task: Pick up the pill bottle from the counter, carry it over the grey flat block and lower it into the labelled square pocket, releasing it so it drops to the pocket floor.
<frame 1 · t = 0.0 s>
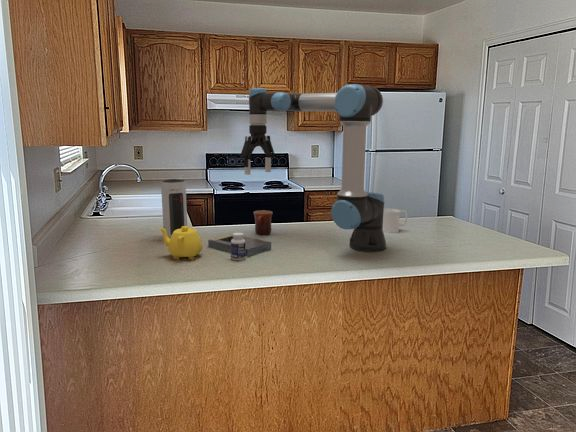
hand: (258, 173, 216), 28 cm above the countertop, fingers open, 13 cm apart
grey flat block: (239, 248, 198), on the countertop
speaker: (175, 239, 213), on the countertop
pill bottle: (238, 259, 184), on the countertop
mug: (262, 235, 221), on the countertop
cup: (393, 231, 232), on the countertop
teapot: (180, 256, 186), on the countertop
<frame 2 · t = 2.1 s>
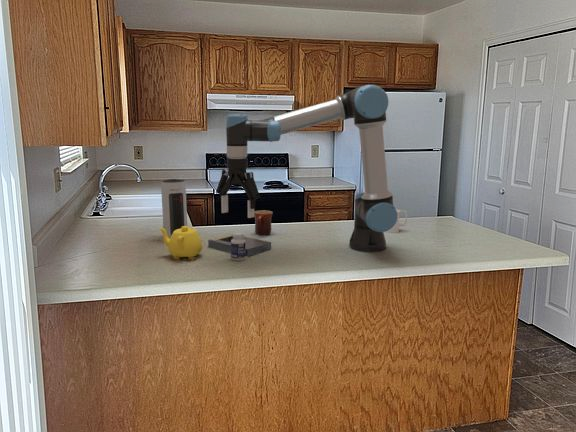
hand: (237, 214, 181), 17 cm above the countertop, fingers open, 13 cm apart
nothing on the countertop moved.
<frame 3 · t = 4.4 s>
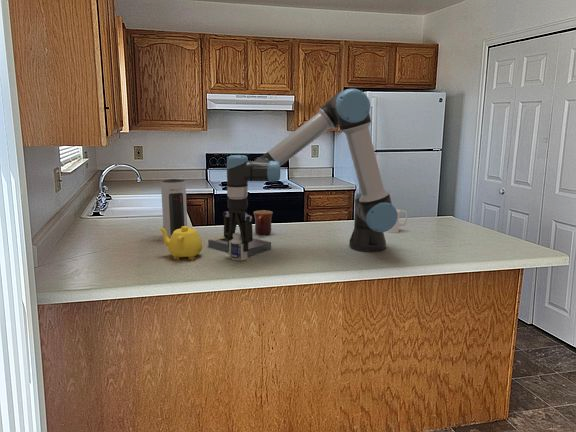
hand: (238, 257, 184), 0 cm above the countertop, fingers closed on pill bottle, 5 cm apart
pill bottle: (238, 259, 184), on the countertop, touching gripper
everything else where it was.
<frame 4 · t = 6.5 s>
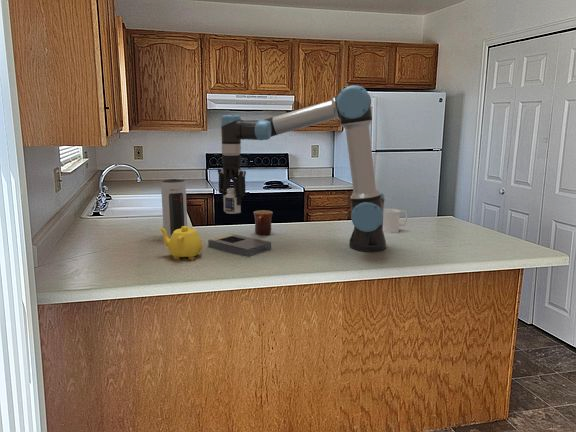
hand: (232, 211, 197), 15 cm above the countertop, fingers closed on pill bottle, 5 cm apart
pill bottle: (232, 213, 198), point 14 cm above the countertop, touching gripper
everything else where it was.
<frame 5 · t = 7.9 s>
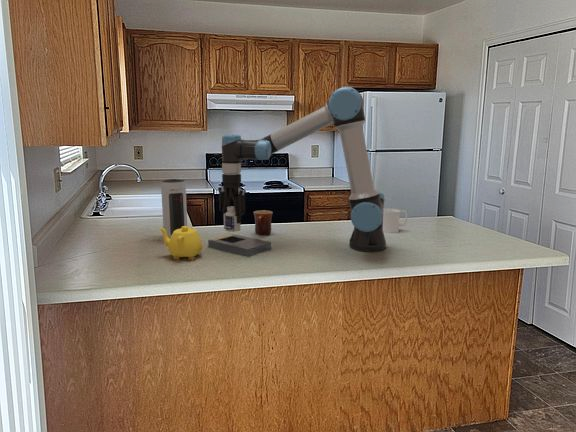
hand: (232, 229, 200), 7 cm above the countertop, fingers closed on pill bottle, 5 cm apart
pill bottle: (232, 230, 200), point 7 cm above the countertop, touching gripper
everything else where it was.
when the fingers open (4 cm above the countertop, at t = 8.8 s): pill bottle drops 4 cm, resting in grey flat block.
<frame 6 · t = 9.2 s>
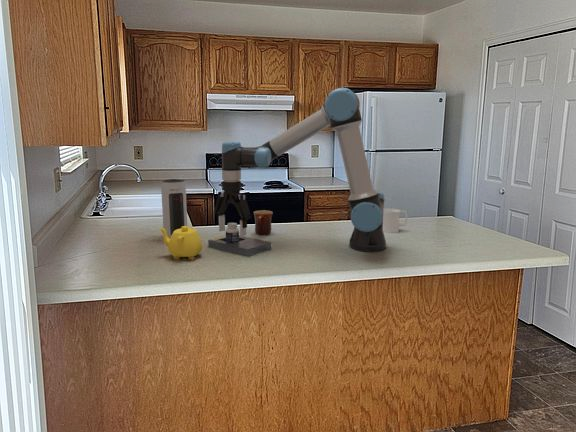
hand: (232, 233, 200), 6 cm above the countertop, fingers open, 11 cm apart
pill bottle: (232, 247, 201), resting in grey flat block
everything else where it was.
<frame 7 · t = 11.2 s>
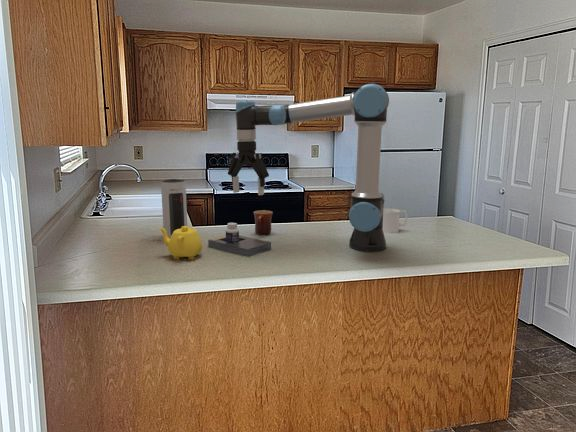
hand: (248, 193, 197), 22 cm above the countertop, fingers open, 13 cm apart
nothing on the countertop moved.
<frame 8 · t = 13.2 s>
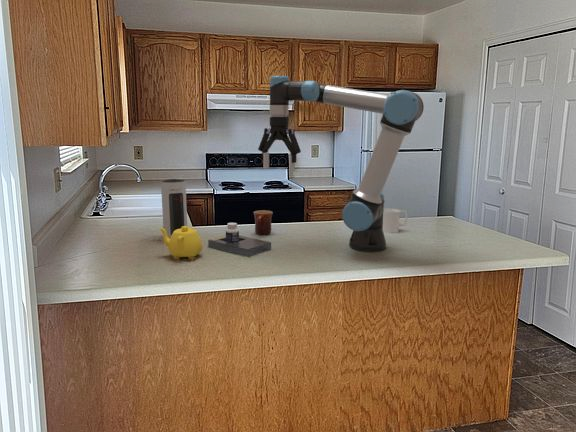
hand: (278, 169, 197), 32 cm above the countertop, fingers open, 13 cm apart
nothing on the countertop moved.
at the end: pill bottle inside the target area on the grey flat block (0.1 cm from its centre), point 0.0 cm above the grey flat block's base; pill bottle resting in grey flat block; the gripper is holding nothing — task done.
